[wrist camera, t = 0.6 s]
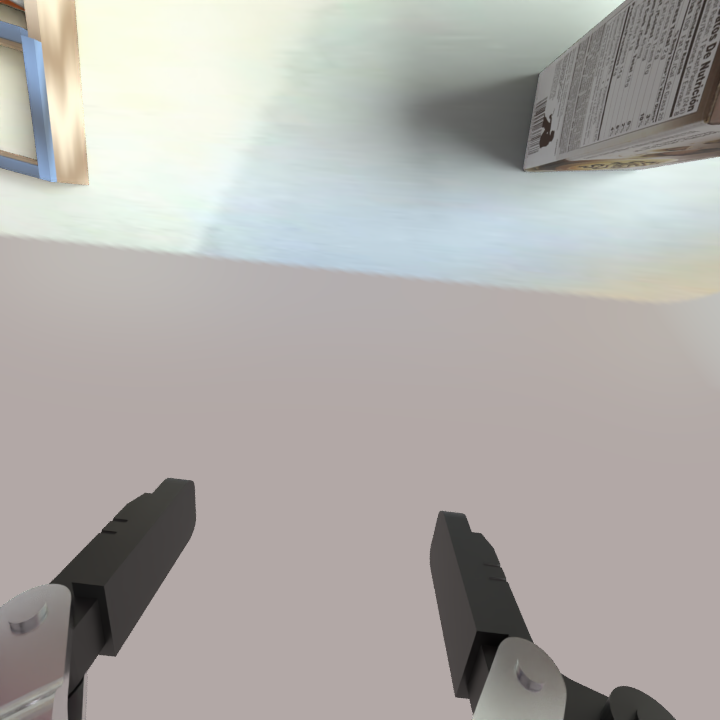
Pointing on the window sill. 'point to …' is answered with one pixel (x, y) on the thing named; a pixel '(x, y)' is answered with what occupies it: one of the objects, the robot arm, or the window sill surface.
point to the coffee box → (632, 92)
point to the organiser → (51, 92)
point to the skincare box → (14, 4)
